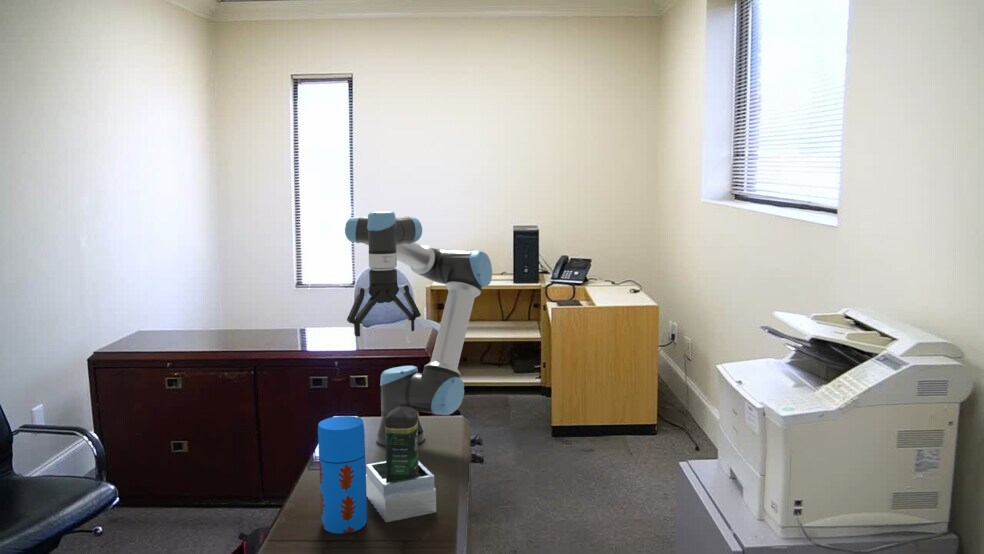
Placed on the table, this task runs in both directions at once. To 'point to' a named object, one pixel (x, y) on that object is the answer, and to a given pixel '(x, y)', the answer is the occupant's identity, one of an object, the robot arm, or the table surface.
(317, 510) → the table surface
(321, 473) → the thermos
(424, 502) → the open grey metal box
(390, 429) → the coffee jar
